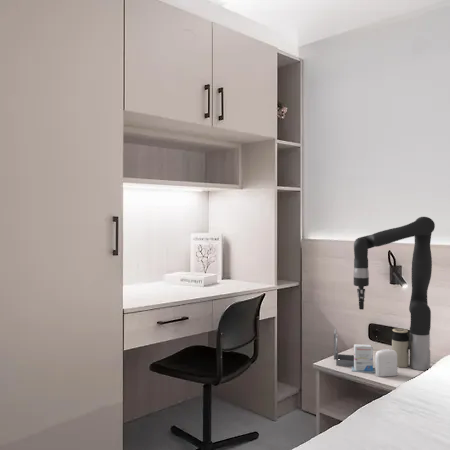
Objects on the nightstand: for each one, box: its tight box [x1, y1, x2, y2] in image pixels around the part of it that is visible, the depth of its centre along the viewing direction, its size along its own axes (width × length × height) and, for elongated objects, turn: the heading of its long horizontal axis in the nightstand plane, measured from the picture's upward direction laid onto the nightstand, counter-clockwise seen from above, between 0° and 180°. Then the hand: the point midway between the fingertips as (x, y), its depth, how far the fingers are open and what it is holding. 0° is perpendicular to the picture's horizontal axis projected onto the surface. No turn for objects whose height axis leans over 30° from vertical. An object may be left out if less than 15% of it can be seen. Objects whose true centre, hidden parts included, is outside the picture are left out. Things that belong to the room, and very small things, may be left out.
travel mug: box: [391, 327, 410, 368], centre depth 241 cm, size 8×8×18 cm
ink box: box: [353, 343, 374, 371], centre depth 234 cm, size 9×5×12 cm, turn 82°
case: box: [333, 328, 354, 368], centre depth 245 cm, size 16×11×16 cm
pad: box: [351, 366, 376, 374], centre depth 234 cm, size 11×7×1 cm, turn 74°
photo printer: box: [374, 348, 398, 377], centre depth 227 cm, size 10×4×12 cm, turn 96°
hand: (361, 307), depth 245 cm, fingers open, 8 cm apart
